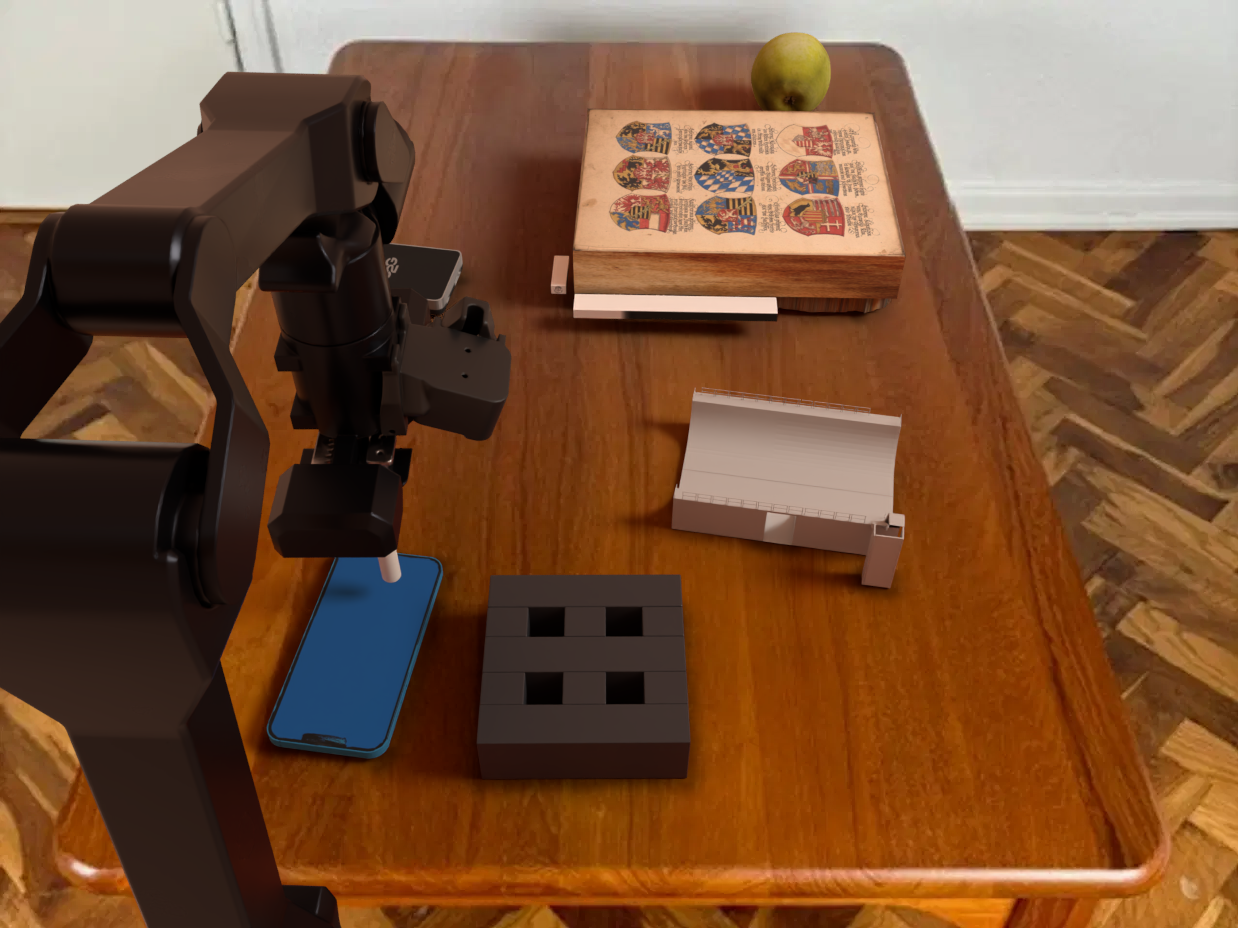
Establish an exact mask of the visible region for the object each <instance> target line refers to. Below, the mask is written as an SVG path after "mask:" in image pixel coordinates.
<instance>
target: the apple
mask: <svg viewBox="0 0 1238 928" xmlns="http://www.w3.org/2000/svg"><path fill="white" fill-rule="evenodd" d="M831 69H832V68H831V60H830V57H829V54H828V52H827V50H826V49H825V47H824V45H823V44H822V43H821V42H820V40H818V39H817V38H816V37H815V36H814V35H811V34H810V33H805V32H793V31H792V32H785V33H781V34H778V35H777V36H775V37H774V36H773V38H771V39H770V40H769V41H767V42H766V43H765V44H764V45H763V46H762V47H761V48H760V50H759V51H758V53H757V55H756V57H755V58H754V61H753V63H752V66H751V71H750V83H751V88H752V93H753V97H754V99H755V101H756V103H757V105H758V107H759V108H760V109H761V111H814V110H815V109H816V108H817V107H819V105H820V104H821V103H822V101H823V100H824V98H825V96H826V94H827V92H828V90H829V87H830V83H831V78H832V70H831Z"/></svg>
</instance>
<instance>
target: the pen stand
mask: <svg viewBox="0 0 1238 928" xmlns="http://www.w3.org/2000/svg"><path fill="white" fill-rule="evenodd" d="M488 586H489V587H488V597H487V598H488V599H487V611H486V622H485V623H486V624H485V634H484V637H485V638H484V648H483V659H482V673H481V684H480V685H481V686H480V697H479V705H478V706H479V709H478V721H477V732H476V733H477V734H476V749H477V756H478V762H479V768H480V775H481V779H482V780H546V779H547V780H551V779H552V780H554V779H556V780H557V779H558V780H559V779H561V780H564V779H565V780H566V779H568V780H570V779H578V780H579V779H687V778H688V772H689V763H690V752H691V728H690V727H691V726H690V708H689V693H688V692H689V691H688V674H687V658H686V642H685V626H684V625H685V624H684V608H683V607H684V605H683V590H682V589H683V588H682V575H681V574H678V573H677V574H675V573H674V574H672V573H671V574H491V575H490V576H489V585H488Z"/></svg>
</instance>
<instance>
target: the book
mask: <svg viewBox="0 0 1238 928" xmlns="http://www.w3.org/2000/svg"><path fill="white" fill-rule="evenodd" d="M876 118H877V117H876V113H875V112H874V111H870V112H869V111H814V110H812V111H763V110H741V109H740V110H739V109H738V110H736V109H734V110H731V109H729V110H727V109H725V110H724V109H664V108H663V109H661V108H660V109H657V108H656V109H655V108H653V109H652V108H594V107H593V108H590V107H589V108H588V107H587V109H586V118H585V119H586V120H585V127H584V128H585V129H584V139H583V147H582V157H581V166H580V176H579V177H580V179H579V187H578V195H577V196H578V197H577V205H576V215H575V225H574V233H573V234H574V235H573V244H572V264H573V265H572V266H573V291H574V292H573V293H574V299H573V318H574V319H613V320H614V319H615V320H616V319H618V320H623V319H624V320H666V321H667V320H670V321H672V320H673V321H674V320H675V321H676V320H677V321H678V320H679V321H723V322H726V321H727V322H729V321H730V322H775V323H776V322H778V314H779V313H778V312H779V311H778V309H784V310H794V311H800V312H807V313H847V312H854V311H857V312H861V313H863V314H866V313H871V312H875V311H876V310H879V309H884V308H887V306H888V305H889V304H890V303H892V301H893V300H897V299H898V297H899V292H900V287H901V282H902V277H903V273H904V267H905V263H906V258H907V256H906V255H907V254H906V251H905V246H904V242H903V236H902V233H901V228H900V224H899V219H898V213H897V210H896V205H895V200H894V196H893V191H892V187H891V182H890V178H889V177H890V176H889V173H888V169H887V168H888V167H887V164H886V158H885V155H884V150H883V146H882V140H881V136H880V131H879V127H878V123H877V119H876ZM569 270H570V255H553V264H552V273H551V282H550V293H551V294H552V295H553V294H555V295H556V294H557V295H567V290H568V282H569V281H568V280H569Z"/></svg>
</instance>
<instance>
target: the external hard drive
mask: <svg viewBox="0 0 1238 928" xmlns="http://www.w3.org/2000/svg"><path fill="white" fill-rule="evenodd" d="M383 250H384V256H385V262H386V268H387V274H388V280H389V286H390V288H412V289H413V290H414V291H416V292H417V293H419V294H420V295H422V296H423V297H424V298H426V299H427V300H428V303H429V310H430V316H441V315H444V313H445V312H446V309H447V308H448V307H447V306H448V304H449V302H450V301H451V300H450V299H451V297H452V295H453V292H454V290H455V287H456V286H457V282H458V280H459V278H460V276H461V273H462V270H463V268H464V263H463V255H462V254H463V253H462V252H461V250H459V249H451V248H443V247H433V246H425V245H413V244H407V243H406V244H404V243H396V242H391V243H389V244H384V245H383Z"/></svg>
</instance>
